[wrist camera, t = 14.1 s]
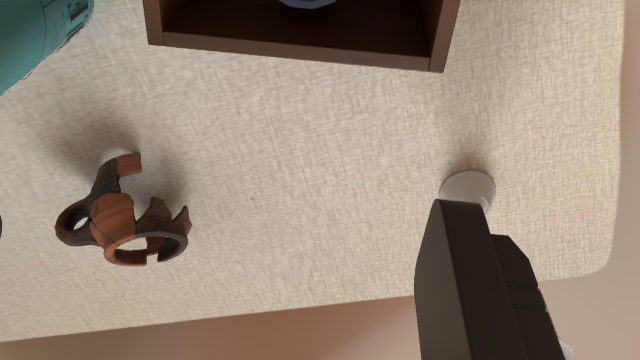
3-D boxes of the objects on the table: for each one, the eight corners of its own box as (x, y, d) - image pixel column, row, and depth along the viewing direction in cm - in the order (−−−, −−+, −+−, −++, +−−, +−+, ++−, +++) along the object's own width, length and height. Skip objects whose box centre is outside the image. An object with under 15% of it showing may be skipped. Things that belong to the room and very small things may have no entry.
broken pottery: (167, 136, 47) (179, 218, 43) (196, 184, 55) (209, 256, 51) (33, 171, 46) (33, 257, 42) (84, 214, 54) (88, 289, 50)
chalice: (435, 228, 50) (466, 401, 36) (419, 173, 47) (446, 342, 32) (513, 211, 49) (578, 386, 34) (502, 153, 45) (571, 322, 31)
